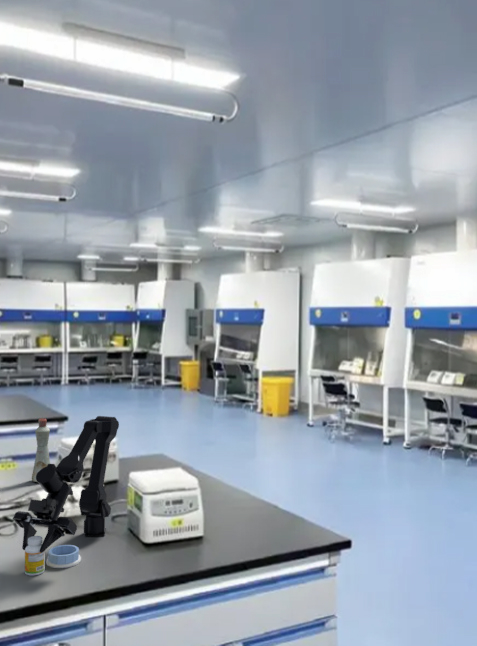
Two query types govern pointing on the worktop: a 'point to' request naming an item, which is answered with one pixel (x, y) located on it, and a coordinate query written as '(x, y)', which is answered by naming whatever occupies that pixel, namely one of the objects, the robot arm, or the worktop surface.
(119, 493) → the worktop surface
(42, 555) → the supplement bottle
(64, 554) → the holder
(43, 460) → the bottle
